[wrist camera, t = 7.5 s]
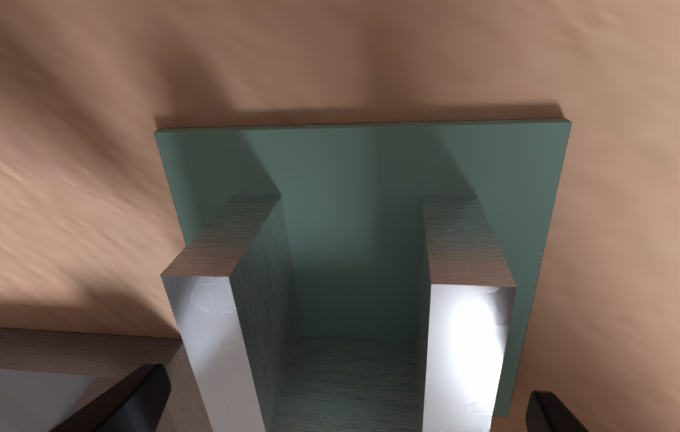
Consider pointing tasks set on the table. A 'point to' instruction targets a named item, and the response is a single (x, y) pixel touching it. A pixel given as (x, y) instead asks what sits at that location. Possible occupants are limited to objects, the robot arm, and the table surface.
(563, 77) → the table surface
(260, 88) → the table surface
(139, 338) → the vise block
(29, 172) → the table surface
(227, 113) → the table surface
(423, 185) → the green mat
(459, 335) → the grey u-shaped bracket
